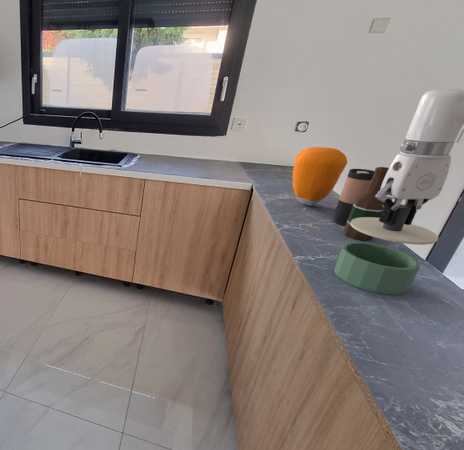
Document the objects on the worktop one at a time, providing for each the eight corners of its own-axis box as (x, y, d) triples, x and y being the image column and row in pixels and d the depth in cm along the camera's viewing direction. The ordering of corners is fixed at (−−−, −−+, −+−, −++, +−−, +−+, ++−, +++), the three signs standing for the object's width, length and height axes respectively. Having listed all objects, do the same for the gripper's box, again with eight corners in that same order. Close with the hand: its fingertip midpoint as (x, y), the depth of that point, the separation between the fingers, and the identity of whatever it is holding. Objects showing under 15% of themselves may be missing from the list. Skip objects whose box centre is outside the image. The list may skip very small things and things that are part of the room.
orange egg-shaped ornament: (278, 197, 147) (293, 143, 137) (321, 200, 142) (339, 144, 132) (290, 209, 132) (307, 150, 122) (338, 213, 127) (360, 151, 117)
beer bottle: (345, 229, 112) (370, 164, 103) (374, 236, 107) (403, 167, 97) (339, 235, 108) (364, 167, 98) (369, 243, 102) (398, 172, 93)
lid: (391, 220, 85) (402, 195, 82) (457, 246, 71) (472, 216, 68) (334, 222, 86) (342, 197, 83) (388, 248, 71) (400, 219, 68)
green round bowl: (371, 264, 90) (381, 241, 87) (424, 294, 77) (438, 268, 74) (321, 265, 91) (329, 242, 88) (365, 295, 77) (376, 269, 74)
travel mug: (355, 220, 119) (374, 169, 111) (360, 228, 113) (381, 174, 105) (330, 217, 123) (347, 167, 115) (333, 224, 117) (351, 172, 109)
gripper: (404, 152, 67) (374, 230, 74) (483, 150, 66) (444, 228, 74) (373, 147, 74) (347, 218, 81) (444, 144, 73) (412, 216, 80)
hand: (394, 222), depth 77 cm, fingers closed on lid, 3 cm apart
